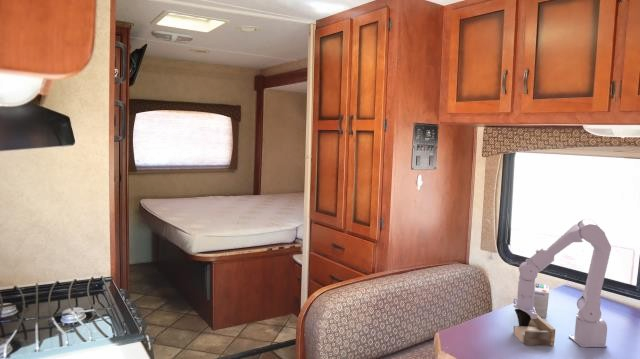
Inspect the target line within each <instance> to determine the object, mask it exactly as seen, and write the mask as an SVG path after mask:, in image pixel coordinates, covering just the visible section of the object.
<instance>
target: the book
mask: <svg viewBox="0 0 640 359" xmlns="http://www.w3.org/2000/svg"><path fill="white" fill-rule="evenodd" d="M525 331H540V330H539V329H538V328H537V327H535V326H519V325H513V335H514V336H515V337H516V338H518V340H519V341H520V342H521V343H524V337H525Z"/></svg>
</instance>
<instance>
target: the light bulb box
mask: <svg viewBox="0 0 640 359" xmlns="http://www.w3.org/2000/svg"><path fill="white" fill-rule="evenodd" d="M549 297H550V286H549V284H541V283H538V282H537V283H536V282H535V294H534V309H535V311H536V313H537V315H539V316H540V317H542V319H547V318H548V315H547V314H548V307H549Z"/></svg>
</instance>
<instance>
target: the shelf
mask: <svg viewBox="0 0 640 359" xmlns="http://www.w3.org/2000/svg"><path fill="white" fill-rule="evenodd" d="M528 326H535V327H537V328H538V329H539V330H540V331H525V337H524V342H523V345H524V346H529V347H530V346H532V347H535V346H538V347H539V346H541V347H544V346H545V345H554V346H555V340H556V328H554V327H553V326H552V325H551V324H550V323H549V322H547V321H546V319H544V318H541V317H540V316H539V315H537V319H531V321H530V322H529V325H528Z"/></svg>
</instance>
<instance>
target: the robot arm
mask: <svg viewBox="0 0 640 359" xmlns="http://www.w3.org/2000/svg"><path fill="white" fill-rule="evenodd" d="M583 240H584V241H586V242H587V243H589V244H590V245H591V246H592V247H593V250H592V255H591V259H590V263H589V268H588V273H587V278H586V281H585V284H584V286H585V287H584V290H582V292H581V295H580V297H579V298H578V299H577V301H576V306H577V309H578V312H577V313H576V315H575V316H576V317H575V326H574V327H575V328H574V335H570V334H569V335H568V337H569V338H570V340H572V341H573V342H575V343H576V344H577V345H579V346H580V347H581V348H607V347H608V345H607V337H608V326H607V325H608V324H607V322H606V321H605V320H604V319H603V318H601V317H602V312H601V301H602V300H601V293H602V290H603V285H604V282H605V278H606V277H605V276H606V272H607V268H608V264H609V259H610V255H611V250H612V246H611V244H610V242H609V239H608V237H607V235H606V232H605V231H604V230H603V229H602V228H601V227H600V226H599V225H598V224H597V223H595V221H593V220H592V219H588V218H584V219H581V220H579V221H578V223H576V224H574V225H572V227H570V228H569V229H568V230H566V232H564V234H563V235H561V236H560V237H559V238H557V240H555V241H554V243H552V244H551V245H549V247H548V248H547V247H546V248H545V247H543V248H541V249H536V251H535V253H534V254H533V255H532V256H531V257H530V258H526V259H525V261H523V262H521V263H520V264H519V267H518V272H519V276H518V279H519V280H518V283H517V296H516V297H514V298H513V302H512V303H513V308H515V309H514V312H515V313H516V316H517V320H518V321H517V322H518V326H528V325H529V322H530V321H531V319H537V313H536V311H535V309H534V294H535V283H536V279H537V277H538V273H541V272H542V271H543V270H544V269H546V268H547V267H548V266H550V265H551V264H552V263H553V262H554V261H555V256H556V255H557V254H559V253H560V252H561V251H563V250H564V249H566V248H567V247H568V246H570V245H571V244H573V243H583V242H584V241H583Z"/></svg>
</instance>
